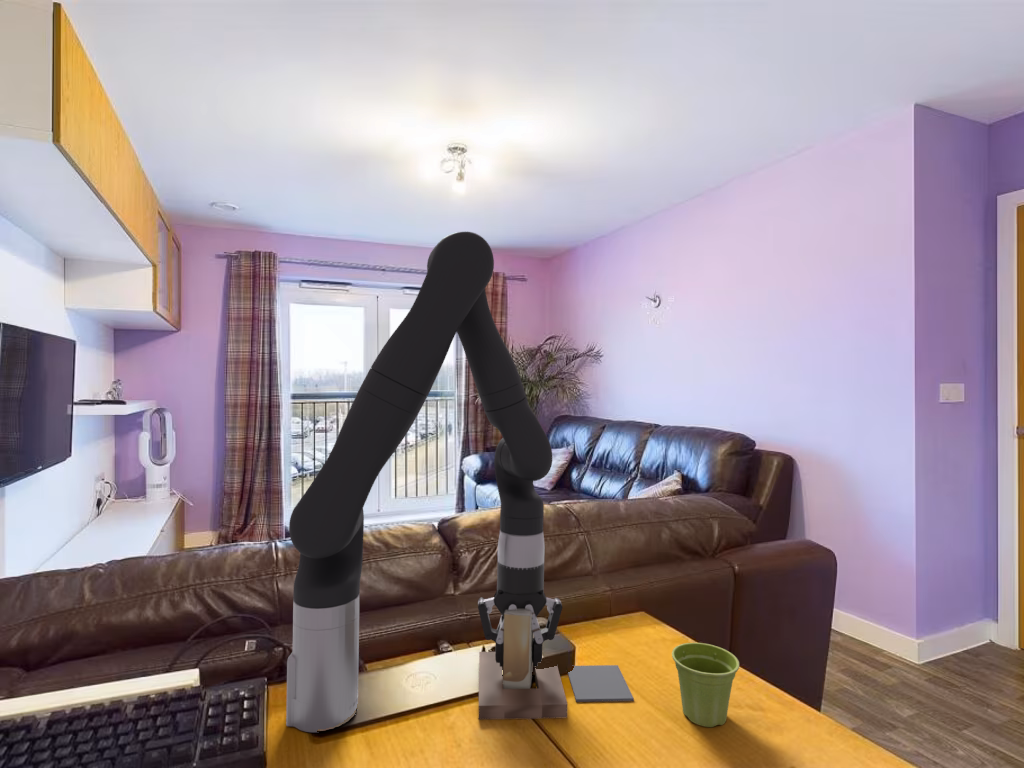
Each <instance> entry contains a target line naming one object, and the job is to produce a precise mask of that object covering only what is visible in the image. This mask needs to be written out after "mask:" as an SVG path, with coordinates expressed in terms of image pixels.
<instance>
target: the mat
mask: <svg viewBox="0 0 1024 768" xmlns="http://www.w3.org/2000/svg"><path fill="white" fill-rule="evenodd" d="M573 666H574V668H573V670H572V671H570V672H568V673H567V675H568V679H569V682H570V685H571V689H572V692H573V696H574V700H575V702H576V703H579V702H580V703H582V702H585V703H591V702H593V703H594V702H634V701H635V699H634V696H633V694H632V692H631V689H630V688H629V685H628V684H627V681H626V680H625V677H624V675H623V673H622V671H621V668H620V667H619V665H618V664H617V665H616V664H610V665H609V664H607V665H606V664H604V665H596V664H595V665H573Z"/></svg>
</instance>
